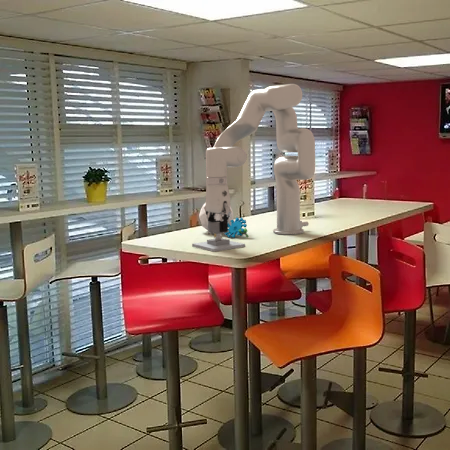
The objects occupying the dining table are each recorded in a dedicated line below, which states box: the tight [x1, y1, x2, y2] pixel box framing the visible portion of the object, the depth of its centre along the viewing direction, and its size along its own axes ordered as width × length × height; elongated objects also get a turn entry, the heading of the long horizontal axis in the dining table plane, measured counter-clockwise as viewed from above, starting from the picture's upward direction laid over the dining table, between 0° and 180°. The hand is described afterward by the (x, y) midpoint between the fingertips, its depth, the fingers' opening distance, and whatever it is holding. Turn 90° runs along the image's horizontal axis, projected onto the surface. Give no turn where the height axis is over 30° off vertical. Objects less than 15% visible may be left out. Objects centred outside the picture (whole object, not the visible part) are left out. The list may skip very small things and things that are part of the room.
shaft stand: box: [191, 234, 246, 252], centre depth 217 cm, size 14×14×7 cm
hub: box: [207, 220, 228, 235], centre depth 216 cm, size 7×7×4 cm
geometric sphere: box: [198, 201, 234, 231], centre depth 251 cm, size 14×15×15 cm
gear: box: [224, 217, 249, 239], centre depth 239 cm, size 11×6×10 cm
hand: (217, 230), depth 217 cm, fingers closed on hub, 6 cm apart
